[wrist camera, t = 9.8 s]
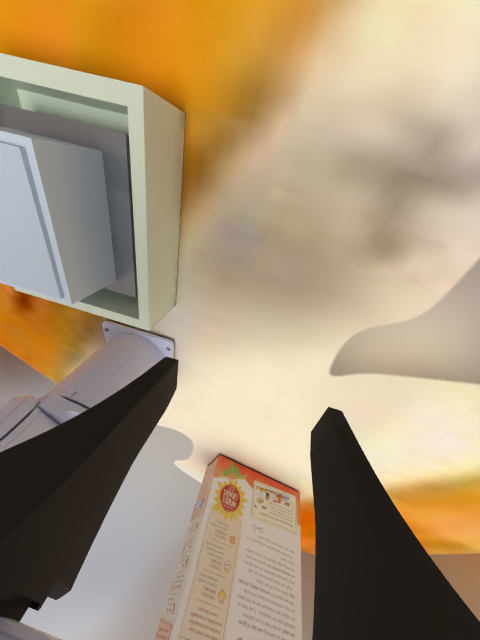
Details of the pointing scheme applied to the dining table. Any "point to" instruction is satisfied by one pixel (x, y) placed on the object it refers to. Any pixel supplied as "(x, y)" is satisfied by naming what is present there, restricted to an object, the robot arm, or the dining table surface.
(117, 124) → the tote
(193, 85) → the dining table surface
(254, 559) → the cracker box
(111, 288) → the tin block
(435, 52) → the dining table surface
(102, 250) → the pale grey box
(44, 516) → the robot arm
